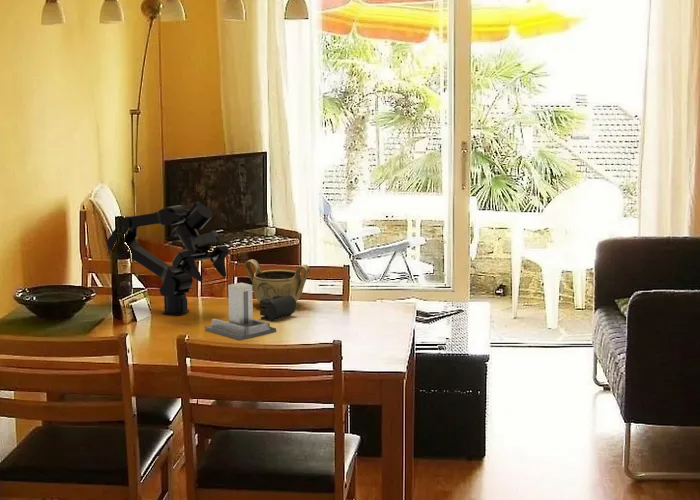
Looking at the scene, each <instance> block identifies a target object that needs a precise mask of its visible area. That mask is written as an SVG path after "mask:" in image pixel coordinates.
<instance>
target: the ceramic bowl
mask: <svg viewBox="0 0 700 500" xmlns="http://www.w3.org/2000/svg"><path fill="white" fill-rule="evenodd" d="M251 265H252V266H253V267H254V270H253V269H252V266H251ZM244 267H245V270H246V273H247V275H248V277H249V280H250V282H251V283H252V284H251V285H252V293H253V295H254V297H255V299H256V300H257V302H258V303H260V300H262V299H265V298H266V299H273V297H274V296H287V295H291V296H292V297H293V298H294V299H295V301H296V302H297V301H299V300H300V298H301V297H302V293H303V291H304V288H305V287H304V286H305V284H306V281H307V278H308V277H309V274H310V269H311V268H310V266H309V265H308V264H303V265H301V266H299V267H298V268H297V269H296V270H289V269H268V270H261V267H260V264H259V262H258V261H257V260H256V259H253V258H252V259H248V260H247V261H245V263H244ZM302 269H303V270H304V274H302Z"/></svg>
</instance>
